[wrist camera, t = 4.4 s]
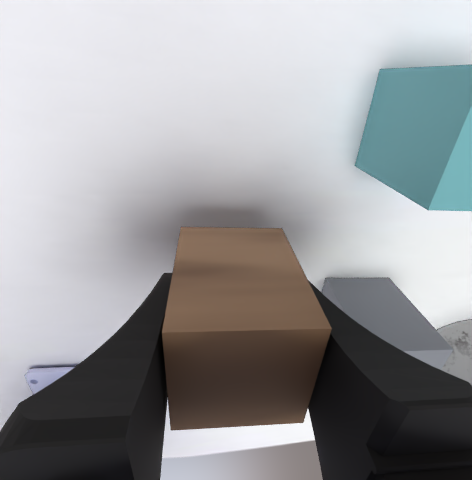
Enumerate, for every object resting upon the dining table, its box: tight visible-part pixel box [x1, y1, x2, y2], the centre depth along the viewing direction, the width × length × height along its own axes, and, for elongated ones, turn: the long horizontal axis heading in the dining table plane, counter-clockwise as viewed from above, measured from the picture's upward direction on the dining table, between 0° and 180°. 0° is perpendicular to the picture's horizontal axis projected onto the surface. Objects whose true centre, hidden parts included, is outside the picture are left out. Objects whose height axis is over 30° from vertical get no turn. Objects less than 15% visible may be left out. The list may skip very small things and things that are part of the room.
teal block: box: [355, 65, 472, 211], centre depth 12 cm, size 4×4×6 cm
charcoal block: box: [322, 278, 454, 370], centre depth 18 cm, size 4×4×6 cm
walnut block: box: [162, 227, 332, 430], centre depth 11 cm, size 4×4×6 cm
